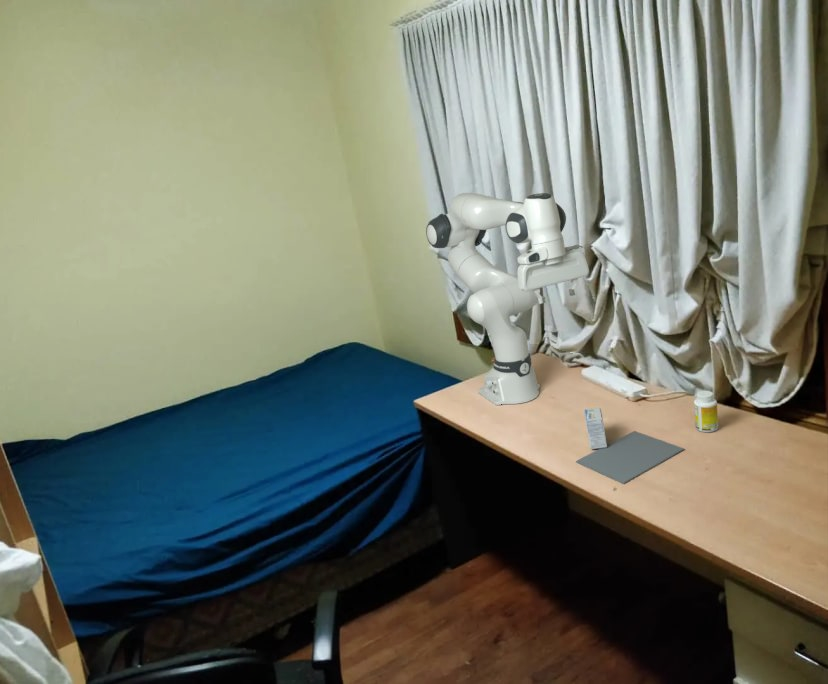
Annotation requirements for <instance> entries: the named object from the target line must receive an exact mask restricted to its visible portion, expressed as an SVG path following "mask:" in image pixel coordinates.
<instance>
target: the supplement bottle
mask: <svg viewBox="0 0 828 684" xmlns="http://www.w3.org/2000/svg"><path fill="white" fill-rule="evenodd" d="M693 408H694V421H695V422H694V423H695V429H696V430H697V431H699V432H701V433H713V432H715V431H717V430H718V429H719V417H718V415H719V414H718V402H717V399H716V398H715V397H714V392H712V391H711V390H710V391H709V390H700V391H697V393H696V398H695V399H694V401H693Z"/></svg>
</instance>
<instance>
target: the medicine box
mask: <svg viewBox="0 0 828 684" xmlns="http://www.w3.org/2000/svg"><path fill="white" fill-rule="evenodd" d="M584 417H585V425H586V430H587V437H588V442H589V443H588V444H589V448H590V450H598V449H600V448H607V445H608V443H607V438H606V431H605V425H604V419H603V418H604V417H603V413H602V410H601V407H594V408H587V409H584Z"/></svg>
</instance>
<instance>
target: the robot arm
mask: <svg viewBox="0 0 828 684" xmlns="http://www.w3.org/2000/svg"><path fill="white" fill-rule="evenodd" d="M523 201H524V202H521V201H513V200H507V199H503V198H497V197H492V196H490V195H488V196H487V195H484V194H481V193H480V194H479V193H472V192H464V193H459V194H457V195H456V196H454V197H453V198H452V199H451V202H450V206H449V212H448V213H446V214H443V213H440V214H439V215H437V216H436V217H434V218H432V219H431V220H429V222H428V223H427V225H426V227H425V228H426V229H425V230H426V231H425V235H426V239H427V242H428V243H429V244H430V246H432V247H433V248H435V249H446V248H449V247H451V248H450V250H449V252H448V254H447V262H448V263H449V265H450V268H451V269H452V271H453V272H454V273H455V275H456V276H457V277H458V278H459V280H461V282H462V283H463V284H464V285H465V286H466V287H467V288H468V289H469V291H470V292H472V293H473V294H470V296H469V297H468V300H467V302H466V311H467V314H468V315H469V318H471V321H474V323H476V324H478V325H481V326H482V327H483V328H484V329H486V331H487V332H488V334H489V336H490V338H491V342H492V346H493V351H494V357H492V358H491V362H493V367H492V368H491V369H489V371H488V372H486V373H485V375H484V377H483V384H484V385H483V386H481V387H480V388H479V389H478V394H480V395H481V396H483V397H484V398H485V399H487V400H488V401H489V400H490V401H489V402H491V403H492V402H493V403H492V404H494V405H495V406H501V404H502V405H514V404H515V405H516V404H522V403H527V402H530V401H532V400H534V399H536V398H537V397H538V396H539V395H540V388H541V385H540V383H538V381H537V376H536V372H535V368H534V366H533V365H532V357H531V353H530V352H529V345H528V339H527V338H528V337H527V333H526V332H525V331H524V329H522V328H521V327H519V326H517V325H514V324H513V325H512V323H511V320H510V317H511V316H515V315H518V314H522V313H524V312H526V311H528V310H530V309H532V308H533V307H534V306H537V305H538V303H539V305H542V304H546V303H547V301H546V296H542V294H541V288H545V287H549V286H553V285H556V284H557V285H558V284H560V283H561V284H562V283H564V282H568V281H570V283H571V284H572V285H571V288H570V289H568V293H569V294H568V295H569V296H570V297H574V296H577V295H578V293H577V288H578V285H579V279H580V278H581V279H582V278H584V277H587V276H589V273H590V268H589V265H588V261H587V259H586V249H585V247H584V246H583V245H579V244H574V245H571V246H566V245H565V240H564V236H563V233H562V232H563V230H564V228H565V226H566V222H567V215H566V213H565V210H564V209H563V207H561V205H559V204H558V203H557V202H556V200H555V198H554V196H553V194H550V193H547V192H540V193H535V194H530V195H528V196H527V197H525V199H524V200H523ZM502 226H505V232H506V234H507V237H508V239H509V240H511V241H512V242H513V243H515V244H526V243H530V242H531V243H530V244H531V248H530V249H528V250H527V251H526V252H523V253H522V254H520V255H519V256H517V259H516V260H517V264H519V266H518V268H517V270H516V271H517V276H516V275H514V274H510V273H508V272H506V271H503V270H502V269H499V268H497V267H496V266H494V264H492V263H491V261H489V260H488V259H487V258H486V257H484V255H482V254H481V253H480V252H479V251H478V249H477V247H478V246H480V245H481V243H482V242H483V239H484V237H485V235H486V232H487V230H492V229H495V228H499V227H502Z"/></svg>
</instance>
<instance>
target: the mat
mask: <svg viewBox="0 0 828 684" xmlns="http://www.w3.org/2000/svg"><path fill="white" fill-rule="evenodd" d="M683 451H685V448H684V447H681V446H678V445H676V444H673V443H669V442H666V441H665V440H664V441H663V440H661V439H658V438H655V437H653V436H650V435H647V434H645V433H642V432H639V431H636V430H633V431H632V432H629V433H627V434H626V435H623V436H622V437H620V438H618V439H616V440H614V441H612V442H610V443H607V448H599V449H595V451H593V452H590V453H589V454H587V455H585V456H583V457H581V458H579V459H577V460H576V461H575V463H576V464H578V465H581V466H583V467H585V468H588V469H590V470H591V471H593V472H597V473H598V474H601V475H603V476H605V477H607V478H609V479H611V480H614V481H616V482H618V483H621V484H622V485H625V484H628V483H629V482H630V481H632V480H635V478H637V477H639V476H641V475H643V474H644V473H646V472H648V471H650V470H652V469H654V468H655V467H657V466H659V465H660V464H662V463H664V462H665V461H668V460H669V459H671V458H673V457H674V456H676V455H678V454H680V453H682V452H683Z"/></svg>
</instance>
